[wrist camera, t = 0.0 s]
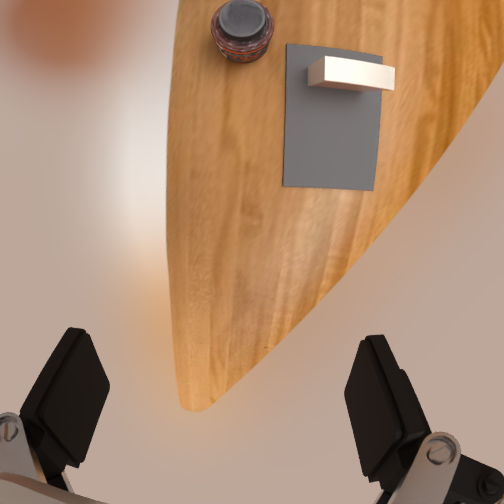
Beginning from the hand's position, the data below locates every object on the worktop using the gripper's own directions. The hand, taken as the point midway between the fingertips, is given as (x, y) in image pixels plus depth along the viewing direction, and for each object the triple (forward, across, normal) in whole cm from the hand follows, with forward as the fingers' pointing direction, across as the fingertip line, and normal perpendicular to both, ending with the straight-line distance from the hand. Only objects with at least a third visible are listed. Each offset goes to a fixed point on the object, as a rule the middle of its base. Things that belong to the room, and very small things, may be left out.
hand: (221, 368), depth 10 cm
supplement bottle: (+31, 0, -16) cm, 35 cm away
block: (+31, -11, -12) cm, 35 cm away
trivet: (+31, -11, -7) cm, 34 cm away
